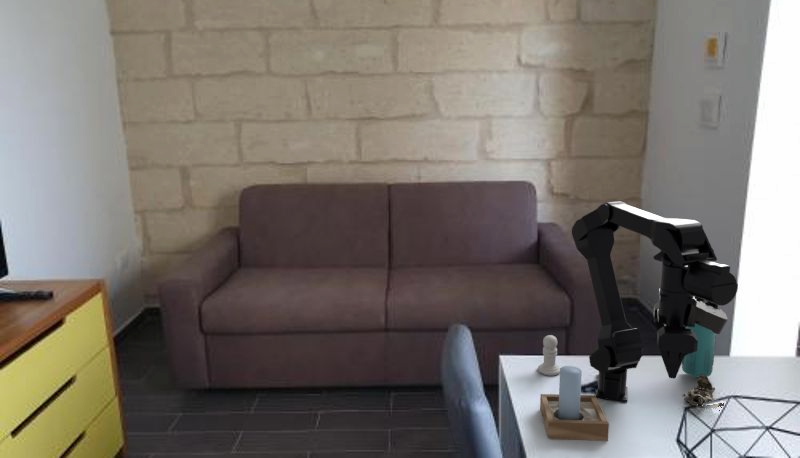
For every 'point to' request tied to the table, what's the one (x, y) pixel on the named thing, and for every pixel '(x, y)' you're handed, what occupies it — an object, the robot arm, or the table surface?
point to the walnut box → (585, 428)
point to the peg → (569, 393)
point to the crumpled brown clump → (702, 393)
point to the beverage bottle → (700, 352)
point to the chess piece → (549, 357)
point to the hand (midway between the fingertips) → (670, 367)
